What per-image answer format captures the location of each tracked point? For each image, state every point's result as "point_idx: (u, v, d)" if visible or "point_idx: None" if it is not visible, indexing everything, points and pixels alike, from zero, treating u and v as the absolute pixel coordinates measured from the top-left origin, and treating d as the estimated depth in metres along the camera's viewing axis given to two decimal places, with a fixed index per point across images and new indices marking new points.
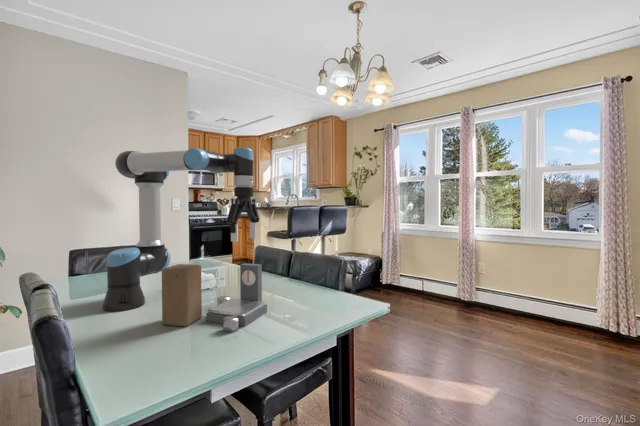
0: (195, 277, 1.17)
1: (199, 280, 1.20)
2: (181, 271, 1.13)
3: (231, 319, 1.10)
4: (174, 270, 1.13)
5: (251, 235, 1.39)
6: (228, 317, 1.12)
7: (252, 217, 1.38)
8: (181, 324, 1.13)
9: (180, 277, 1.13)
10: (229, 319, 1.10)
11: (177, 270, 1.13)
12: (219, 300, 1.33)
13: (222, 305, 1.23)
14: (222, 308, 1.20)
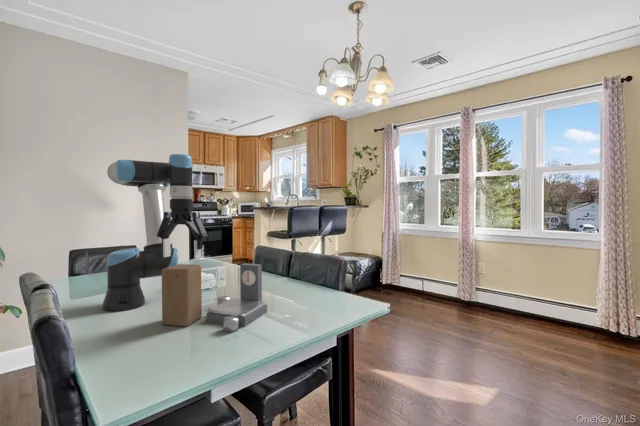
0: (195, 277, 1.17)
1: (199, 280, 1.20)
2: (181, 271, 1.13)
3: (231, 319, 1.10)
4: (174, 270, 1.13)
5: None
6: (228, 317, 1.12)
7: None
8: (181, 324, 1.13)
9: (180, 277, 1.13)
10: (229, 319, 1.10)
11: (177, 270, 1.13)
12: (219, 300, 1.33)
13: (222, 305, 1.23)
14: (222, 308, 1.20)
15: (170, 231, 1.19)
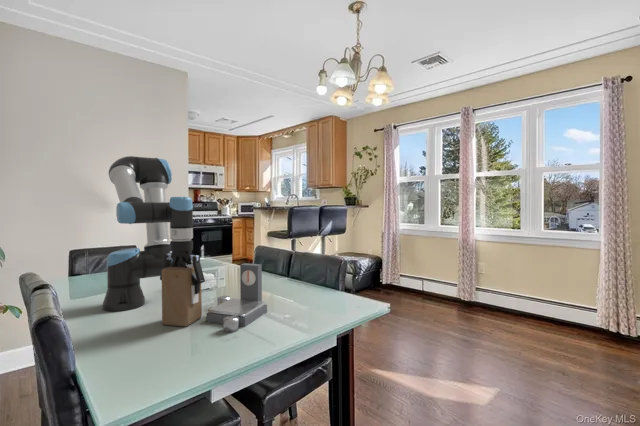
0: None
1: None
2: (181, 271, 1.12)
3: (231, 319, 1.10)
4: (174, 270, 1.13)
5: None
6: (228, 317, 1.12)
7: None
8: (181, 324, 1.13)
9: (179, 277, 1.13)
10: (229, 319, 1.10)
11: (177, 270, 1.13)
12: (219, 300, 1.33)
13: (222, 305, 1.23)
14: (222, 308, 1.20)
15: None
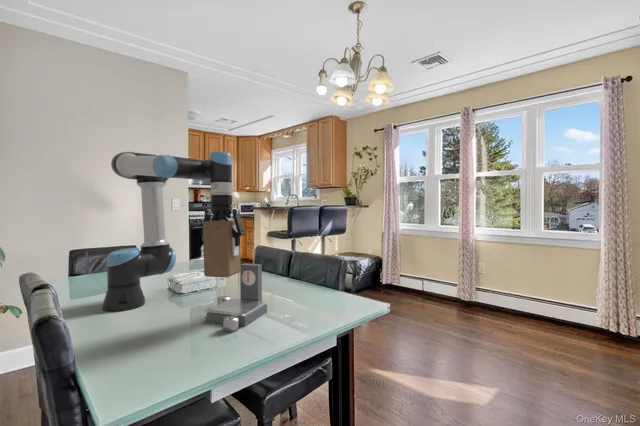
0: None
1: None
2: (222, 223, 1.15)
3: (231, 319, 1.10)
4: (215, 222, 1.16)
5: None
6: (228, 317, 1.12)
7: None
8: (223, 275, 1.16)
9: (221, 228, 1.15)
10: (229, 319, 1.10)
11: (218, 222, 1.16)
12: (219, 300, 1.33)
13: (222, 305, 1.23)
14: (222, 308, 1.20)
15: None
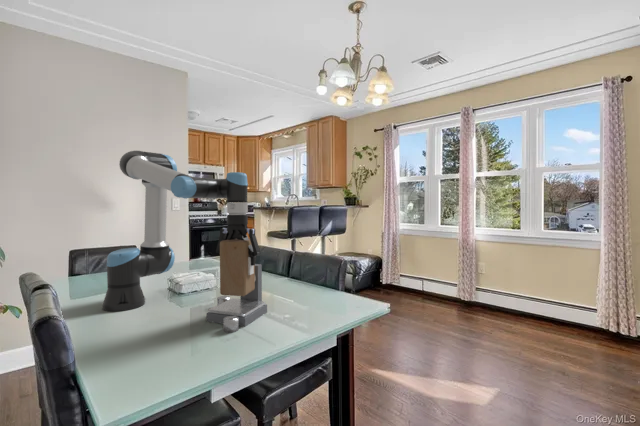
0: None
1: None
2: (239, 243, 1.17)
3: (231, 319, 1.10)
4: (232, 242, 1.18)
5: None
6: (228, 317, 1.12)
7: None
8: (239, 294, 1.18)
9: (238, 248, 1.17)
10: (229, 319, 1.10)
11: (235, 242, 1.18)
12: (219, 300, 1.33)
13: (222, 305, 1.23)
14: (222, 308, 1.20)
15: None
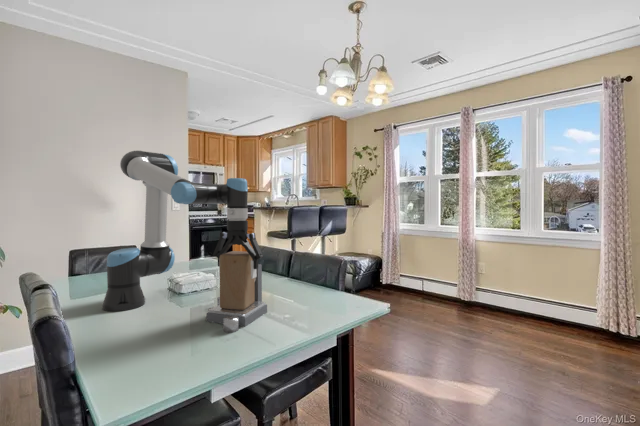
0: (250, 263, 1.22)
1: None
2: (239, 257, 1.18)
3: (231, 319, 1.10)
4: (232, 256, 1.18)
5: None
6: (228, 317, 1.12)
7: None
8: (238, 307, 1.18)
9: (237, 262, 1.18)
10: (229, 319, 1.10)
11: (235, 256, 1.18)
12: (219, 300, 1.33)
13: None
14: (222, 309, 1.20)
15: (226, 251, 1.25)
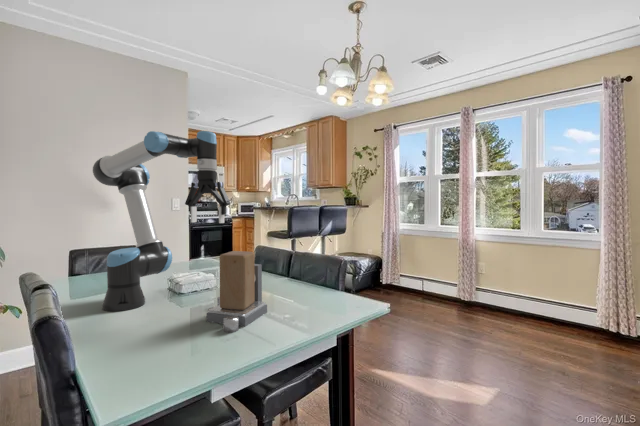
0: (250, 263, 1.22)
1: (253, 266, 1.25)
2: (239, 257, 1.18)
3: (231, 319, 1.10)
4: (232, 256, 1.18)
5: None
6: (228, 317, 1.12)
7: None
8: (238, 307, 1.18)
9: (237, 262, 1.18)
10: (229, 319, 1.10)
11: (235, 256, 1.18)
12: (219, 300, 1.33)
13: None
14: (222, 309, 1.20)
15: (197, 200, 1.36)
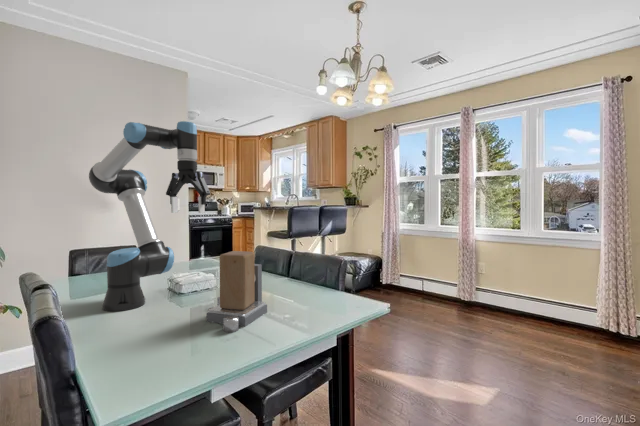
0: (250, 263, 1.22)
1: (253, 266, 1.25)
2: (239, 257, 1.18)
3: (231, 319, 1.10)
4: (232, 256, 1.18)
5: None
6: (228, 317, 1.12)
7: None
8: (238, 307, 1.18)
9: (237, 262, 1.18)
10: (229, 319, 1.10)
11: (235, 256, 1.18)
12: (219, 300, 1.33)
13: None
14: (222, 309, 1.20)
15: (177, 190, 1.36)
